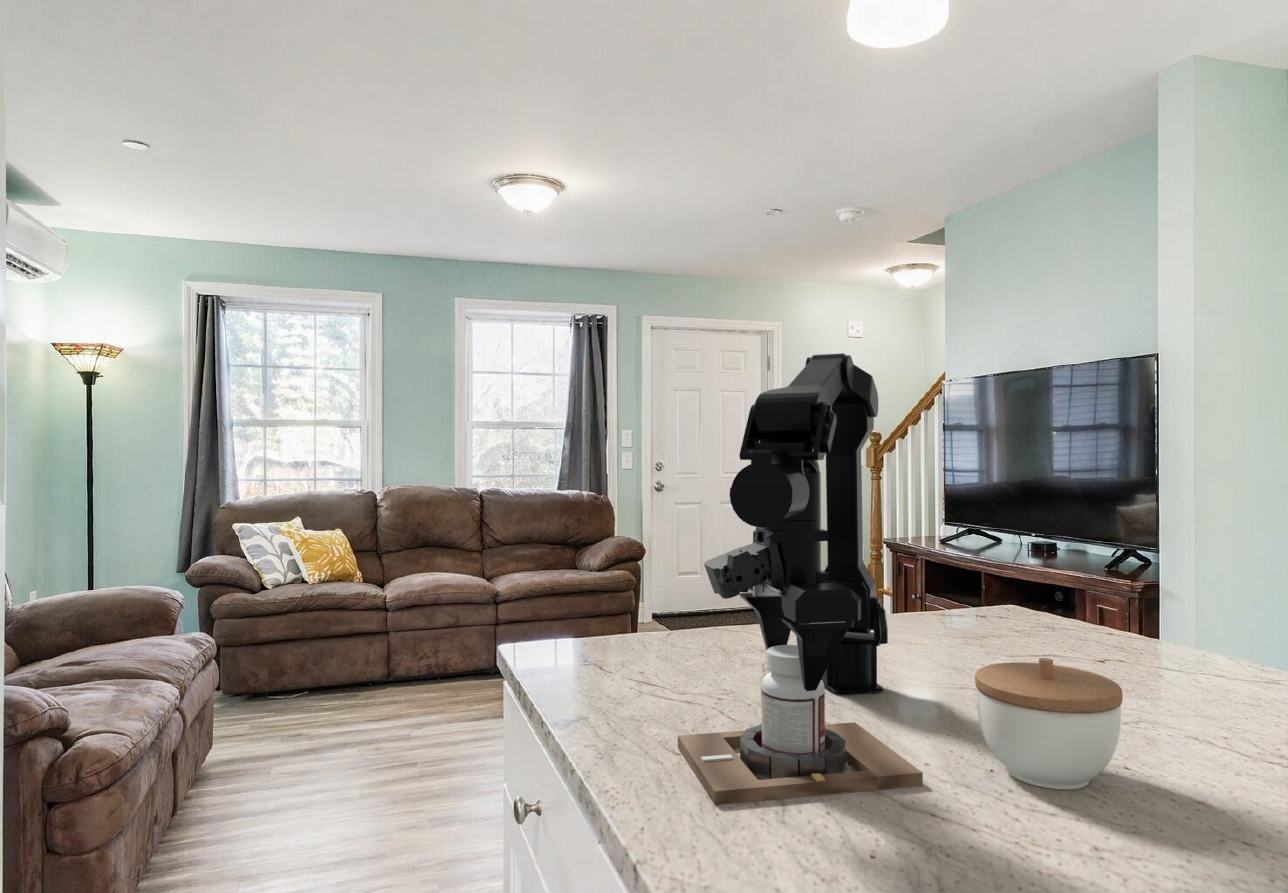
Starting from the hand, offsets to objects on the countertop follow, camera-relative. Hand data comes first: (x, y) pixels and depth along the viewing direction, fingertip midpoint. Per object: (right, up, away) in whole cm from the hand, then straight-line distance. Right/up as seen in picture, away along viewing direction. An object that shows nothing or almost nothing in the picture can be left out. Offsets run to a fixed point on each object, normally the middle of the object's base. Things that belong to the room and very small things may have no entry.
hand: (791, 676), depth 80 cm
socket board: (0, -9, 0) cm, 9 cm away
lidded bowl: (+24, -9, -2) cm, 26 cm away
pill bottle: (0, -9, 0) cm, 9 cm away
